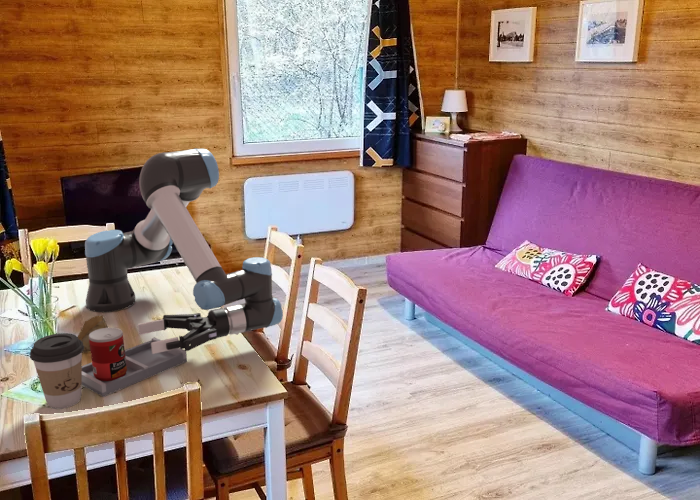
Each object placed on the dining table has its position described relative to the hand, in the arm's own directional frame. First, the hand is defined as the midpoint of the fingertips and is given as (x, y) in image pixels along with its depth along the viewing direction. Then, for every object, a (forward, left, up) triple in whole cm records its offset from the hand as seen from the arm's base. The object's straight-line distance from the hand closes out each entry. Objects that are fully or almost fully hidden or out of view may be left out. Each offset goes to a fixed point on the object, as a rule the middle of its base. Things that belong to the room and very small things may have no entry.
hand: (144, 338), depth 163 cm
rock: (-23, -2, -9) cm, 25 cm away
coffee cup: (-1, -21, -9) cm, 23 cm away
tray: (-3, -3, -9) cm, 10 cm away
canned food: (-3, -8, -8) cm, 12 cm away
